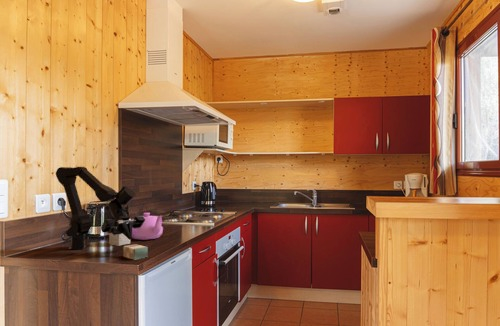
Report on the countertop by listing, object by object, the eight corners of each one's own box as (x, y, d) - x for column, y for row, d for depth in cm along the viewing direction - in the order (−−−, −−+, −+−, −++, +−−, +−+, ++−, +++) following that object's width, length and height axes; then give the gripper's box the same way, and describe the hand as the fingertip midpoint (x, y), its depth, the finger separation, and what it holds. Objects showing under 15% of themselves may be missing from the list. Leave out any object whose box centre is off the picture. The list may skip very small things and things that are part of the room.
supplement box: (118, 246, 176) (119, 220, 176) (108, 244, 180) (109, 219, 180) (130, 243, 182) (131, 218, 183) (121, 242, 186) (121, 217, 186)
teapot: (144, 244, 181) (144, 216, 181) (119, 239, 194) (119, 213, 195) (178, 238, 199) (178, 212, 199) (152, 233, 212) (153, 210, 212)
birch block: (123, 246, 155) (135, 249, 149) (136, 244, 160) (147, 247, 154) (123, 256, 155) (134, 260, 149) (135, 254, 160) (147, 257, 154)
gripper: (129, 220, 175) (142, 247, 168) (91, 225, 161) (103, 253, 154) (138, 205, 170) (152, 231, 163) (100, 208, 156) (113, 237, 149)
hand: (130, 239), depth 157 cm, fingers closed
